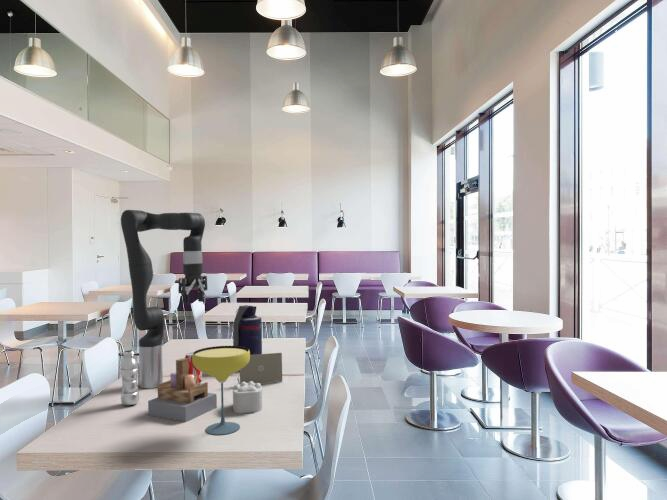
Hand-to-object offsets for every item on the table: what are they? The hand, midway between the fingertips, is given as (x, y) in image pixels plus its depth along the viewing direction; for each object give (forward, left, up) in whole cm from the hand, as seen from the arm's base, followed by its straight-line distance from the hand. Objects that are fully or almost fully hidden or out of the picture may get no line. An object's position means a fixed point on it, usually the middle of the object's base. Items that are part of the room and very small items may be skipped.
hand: (193, 302), depth 202 cm
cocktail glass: (+36, -28, -36) cm, 58 cm away
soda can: (-9, +9, -36) cm, 38 cm away
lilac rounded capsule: (+9, -20, -28) cm, 35 cm away
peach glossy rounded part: (+15, -20, -28) cm, 37 cm away
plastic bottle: (-12, -22, -36) cm, 44 cm away
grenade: (-3, +40, -36) cm, 54 cm away
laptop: (+14, +25, -37) cm, 47 cm away
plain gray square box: (+12, -20, -36) cm, 43 cm away
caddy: (+12, -20, -31) cm, 39 cm away
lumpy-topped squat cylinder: (+31, -7, -36) cm, 48 cm away
